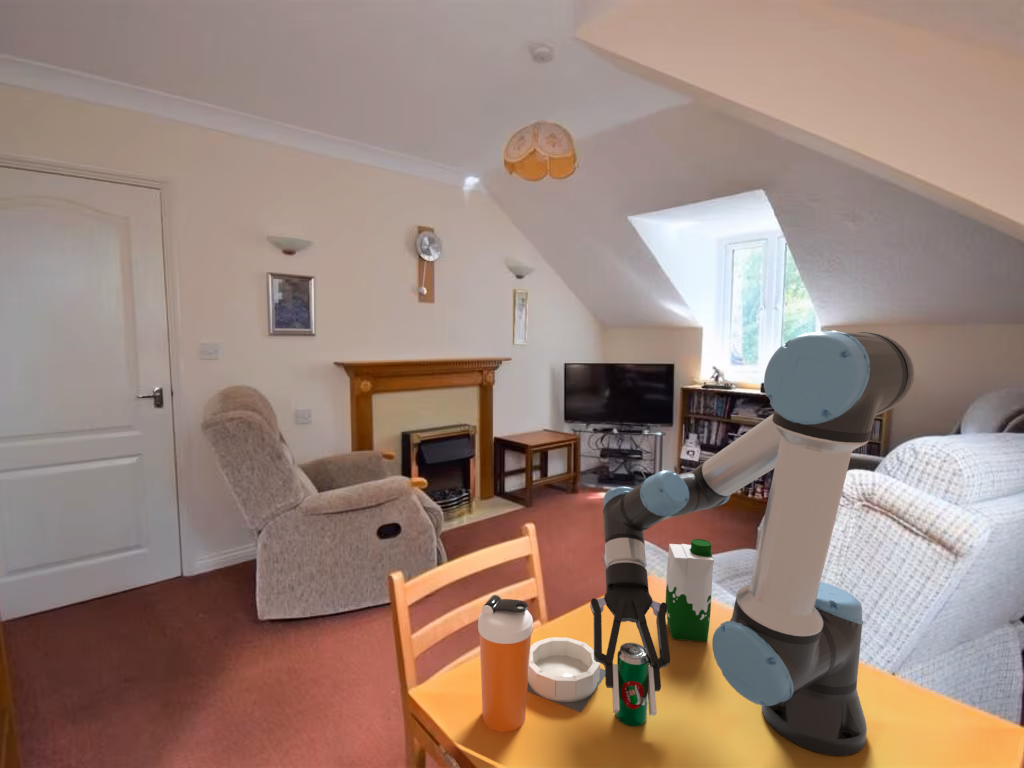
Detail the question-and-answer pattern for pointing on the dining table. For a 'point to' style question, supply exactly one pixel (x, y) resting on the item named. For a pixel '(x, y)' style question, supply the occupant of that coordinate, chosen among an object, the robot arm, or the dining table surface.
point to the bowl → (563, 669)
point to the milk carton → (689, 590)
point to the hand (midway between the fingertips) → (634, 712)
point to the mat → (577, 704)
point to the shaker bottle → (504, 662)
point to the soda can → (632, 684)
